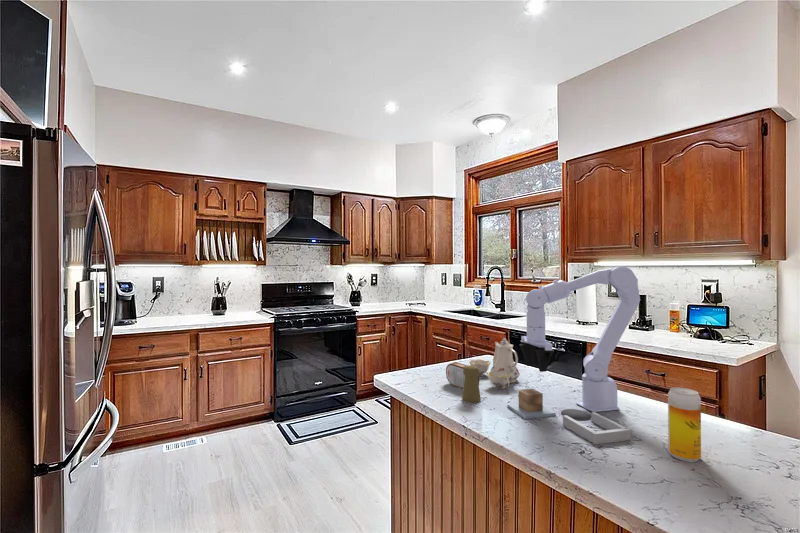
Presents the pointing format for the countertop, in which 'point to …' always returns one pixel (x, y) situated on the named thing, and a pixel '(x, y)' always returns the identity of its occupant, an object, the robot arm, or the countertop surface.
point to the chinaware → (500, 365)
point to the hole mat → (576, 414)
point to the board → (527, 415)
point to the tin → (456, 374)
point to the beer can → (684, 424)
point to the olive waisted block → (471, 385)
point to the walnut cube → (530, 400)
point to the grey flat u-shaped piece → (610, 435)
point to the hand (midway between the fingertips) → (536, 368)
